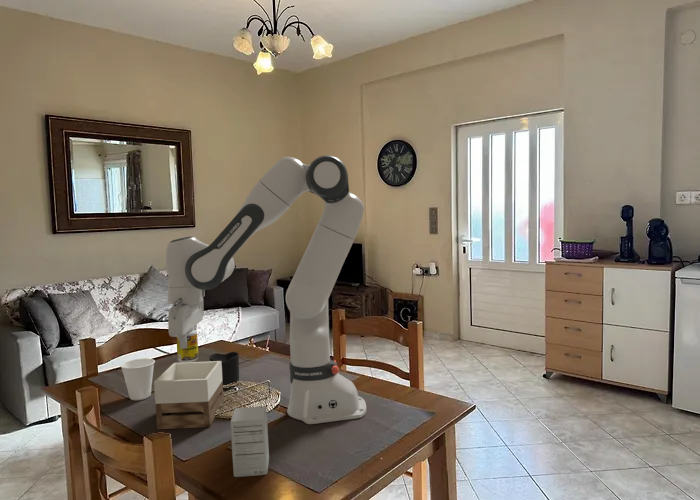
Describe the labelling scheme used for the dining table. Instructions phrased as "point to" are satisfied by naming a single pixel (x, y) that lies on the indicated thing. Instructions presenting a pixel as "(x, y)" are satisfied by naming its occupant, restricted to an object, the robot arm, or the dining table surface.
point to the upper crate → (188, 382)
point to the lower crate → (189, 412)
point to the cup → (138, 377)
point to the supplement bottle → (188, 348)
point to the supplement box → (250, 441)
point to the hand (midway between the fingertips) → (188, 344)
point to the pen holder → (228, 366)
